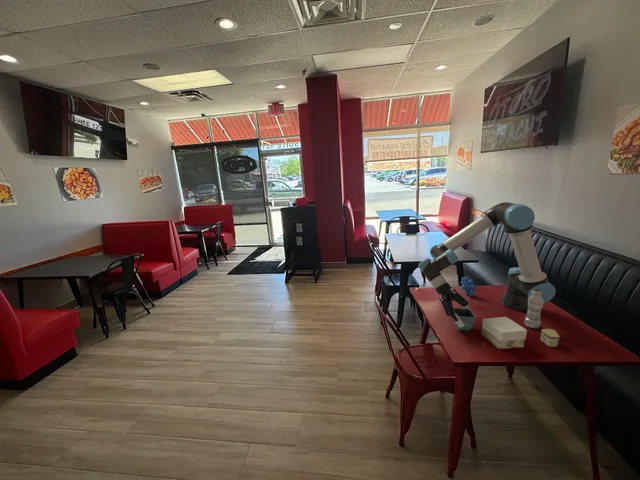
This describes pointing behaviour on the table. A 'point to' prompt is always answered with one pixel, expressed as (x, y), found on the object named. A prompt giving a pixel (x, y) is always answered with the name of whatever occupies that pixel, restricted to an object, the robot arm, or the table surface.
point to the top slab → (504, 329)
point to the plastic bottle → (534, 309)
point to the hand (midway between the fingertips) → (468, 322)
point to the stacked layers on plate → (549, 337)
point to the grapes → (468, 286)
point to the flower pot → (465, 318)
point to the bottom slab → (502, 344)
